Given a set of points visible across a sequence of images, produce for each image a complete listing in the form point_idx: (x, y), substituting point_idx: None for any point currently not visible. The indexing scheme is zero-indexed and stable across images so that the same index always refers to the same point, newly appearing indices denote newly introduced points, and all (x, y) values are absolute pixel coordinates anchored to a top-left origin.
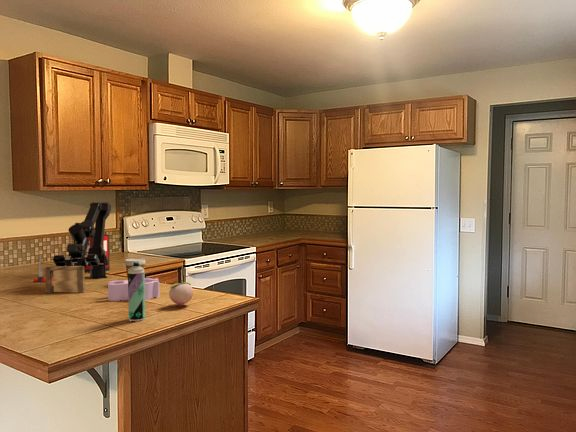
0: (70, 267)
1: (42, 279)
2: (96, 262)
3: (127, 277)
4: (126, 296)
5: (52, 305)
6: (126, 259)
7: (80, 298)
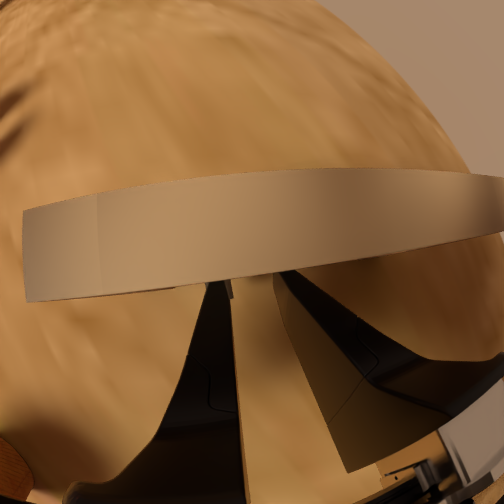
0: (246, 175)
1: None
2: (4, 495)
3: (1, 473)
4: None
5: (178, 19)
6: None
7: (96, 122)
